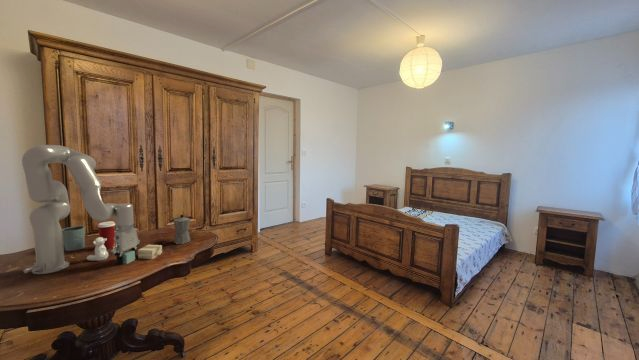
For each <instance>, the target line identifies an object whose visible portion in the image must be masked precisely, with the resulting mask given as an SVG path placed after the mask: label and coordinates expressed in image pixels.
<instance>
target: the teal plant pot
mask: <svg viewBox="0 0 639 360" xmlns="http://www.w3.org/2000/svg"><path fill="white" fill-rule="evenodd" d="M61 229H62V235H63V247H64V251H66V252H71V251H72V252H73V251H78V250H81V249H84V248H85V247H86V242H85V240H86V239H85V237H86V235H85V232H86V227H85V226H84V225H75V226H70V227H69V226H68V227H65V228H61Z"/></svg>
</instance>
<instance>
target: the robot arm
mask: <svg viewBox="0 0 639 360" xmlns="http://www.w3.org/2000/svg"><path fill="white" fill-rule="evenodd" d="M21 159H22V160H21V164H22V165H21V166H22V168H23V172H24V175H25V183H26V188H27V191H28V196H29V198H30V199H31V201H33V202H35V203H39V204H40V203H44V204H42V205H40V206H36V208H34V209H33V210H32V211H31V212H30V213H29V217H28V218H29V223H30V226H31V228H32V234H33V241H34V249H35V250H34V251H35V253H34V254H35V261H36V262H34V263H33V265H32V266H30V267H28V268H25V269H23V270H22V271H23V273H24V274H28V273H32V274H34V275H45V274H46V275H47V274H52V273H57V272H60V271H62V270H64V269H66V268H68V267H70V262H69V261H67V260H66V259H65V246H64V241H63V235H62V229H63V228H62V226H61V224H60V222H59V221H62V220H63V219H65V218H67V217H68V216H69V215H70V213H71V205H70V200H69V194H68V193H69V192H68V190H67V188H66V186H65V184H63V182H61V181H60V180H59V181H58V180H55V179H53V174H52V170H51V169H50V167H49V164H55V163H60V164H63V165H65V166H66V169H67V170H68V172H69V173H70V175H71V177H72V178H73V180H74V181H75V183H76V185H77V186H78V188H79V189H80V196H81V200H82V201H81V202H82V204H83V207H84V209H85V210H86V212H87V213H88V215H89V217H90V218H91V219H93V220H94V221H95V222H99V223H102V222H107V221H108V220H110V219H112V218H115V241H114V247H113V248H111V249H110V253H111V254H112V255H114V256H115V257H116V263H117V264H124V263H123V256H122V253H123V252H124V251H126V250H129V251H135V258H137V251H138V246H139V244H140V242H141V240H140V239H139V238H138V237H139V236H138V232H137V229H136V228H135V221H134V215H135V214H134V205H133V204H132V203H129V202H127V203H126V202H125V203H114V202H113V203H111V202H107V203H104V202H103V199H102V196H101V188H102V180H101V179H100V178H99V176H98V175H97V172H96V171H95V169H96V167H97V162H96V160H95V159H94V158H93V157H92V156H91V155H88V154H86V153H83V152H80V151H77V150H76V149H73V148H70V147H67V146H65V145H64V146H63V145H61V144H60V145H59V144H40V145H36V146H33V147H31V148H29V149H28V150H26V151H25V152H24V154H23V155H22V158H21ZM65 260H66V261H65Z"/></svg>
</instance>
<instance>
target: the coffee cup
mask: <svg viewBox="0 0 639 360" xmlns="http://www.w3.org/2000/svg"><path fill="white" fill-rule="evenodd" d="M97 228H98V234H99V237H101V238H103V239H105V238H107V240H106V241H105V243H104V244H103V245H104V246H105V247H106V250H112V249H113V247H114V246H115V245H114V241H115V232H116V230H115V228H116V222H115V221H104V222H99V223H98V225H97Z"/></svg>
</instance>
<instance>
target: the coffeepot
mask: <svg viewBox="0 0 639 360" xmlns="http://www.w3.org/2000/svg"><path fill="white" fill-rule="evenodd" d="M190 221H191V218H189V217H184V214H180V217H178V218H174V219H173V224H174V229H175V235H174V236H175V237H174V241H173V243H174V244H175V243H176V244H175V245H178V244H181V245H185V244H184V243H187V242H189V241H190V242H191V236H190V232H189V229H190ZM190 242H189V243H190ZM187 244H188V243H187Z"/></svg>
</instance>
